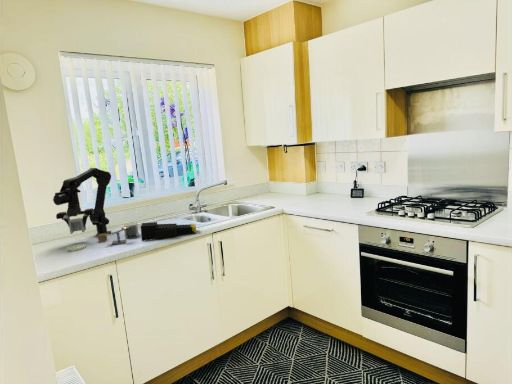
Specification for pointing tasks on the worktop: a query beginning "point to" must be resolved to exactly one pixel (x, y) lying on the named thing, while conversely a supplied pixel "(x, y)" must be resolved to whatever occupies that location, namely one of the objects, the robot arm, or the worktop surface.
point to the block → (102, 237)
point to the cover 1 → (76, 225)
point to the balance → (117, 236)
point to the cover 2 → (131, 230)
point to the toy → (165, 230)
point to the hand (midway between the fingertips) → (77, 228)
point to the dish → (76, 247)
